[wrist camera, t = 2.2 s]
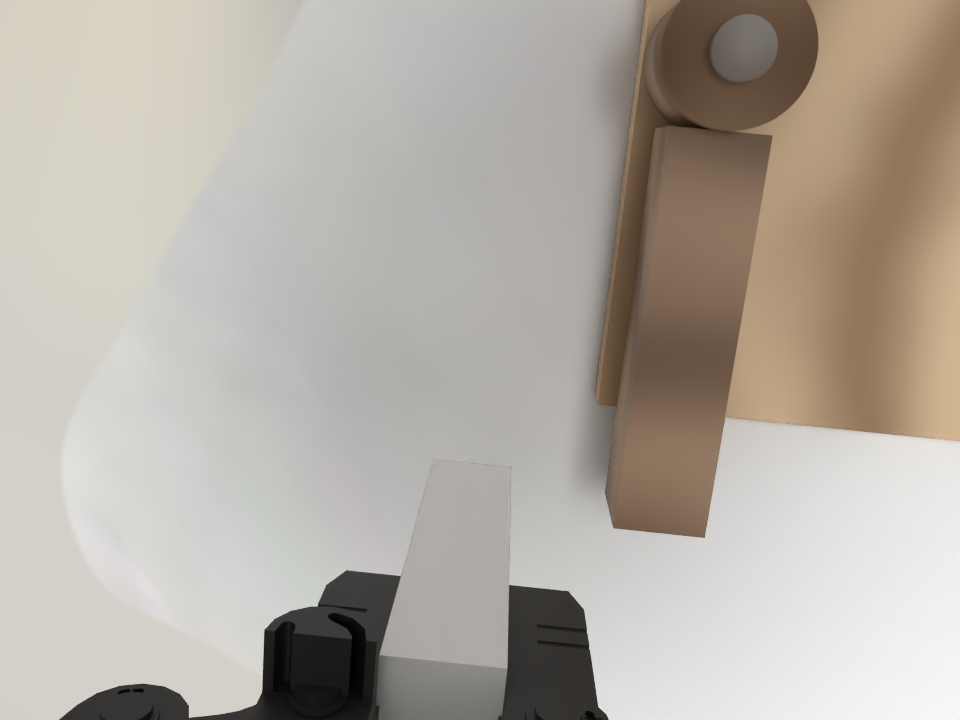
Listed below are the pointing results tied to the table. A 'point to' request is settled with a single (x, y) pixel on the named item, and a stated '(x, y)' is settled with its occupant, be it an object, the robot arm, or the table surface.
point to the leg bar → (698, 246)
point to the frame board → (839, 231)
